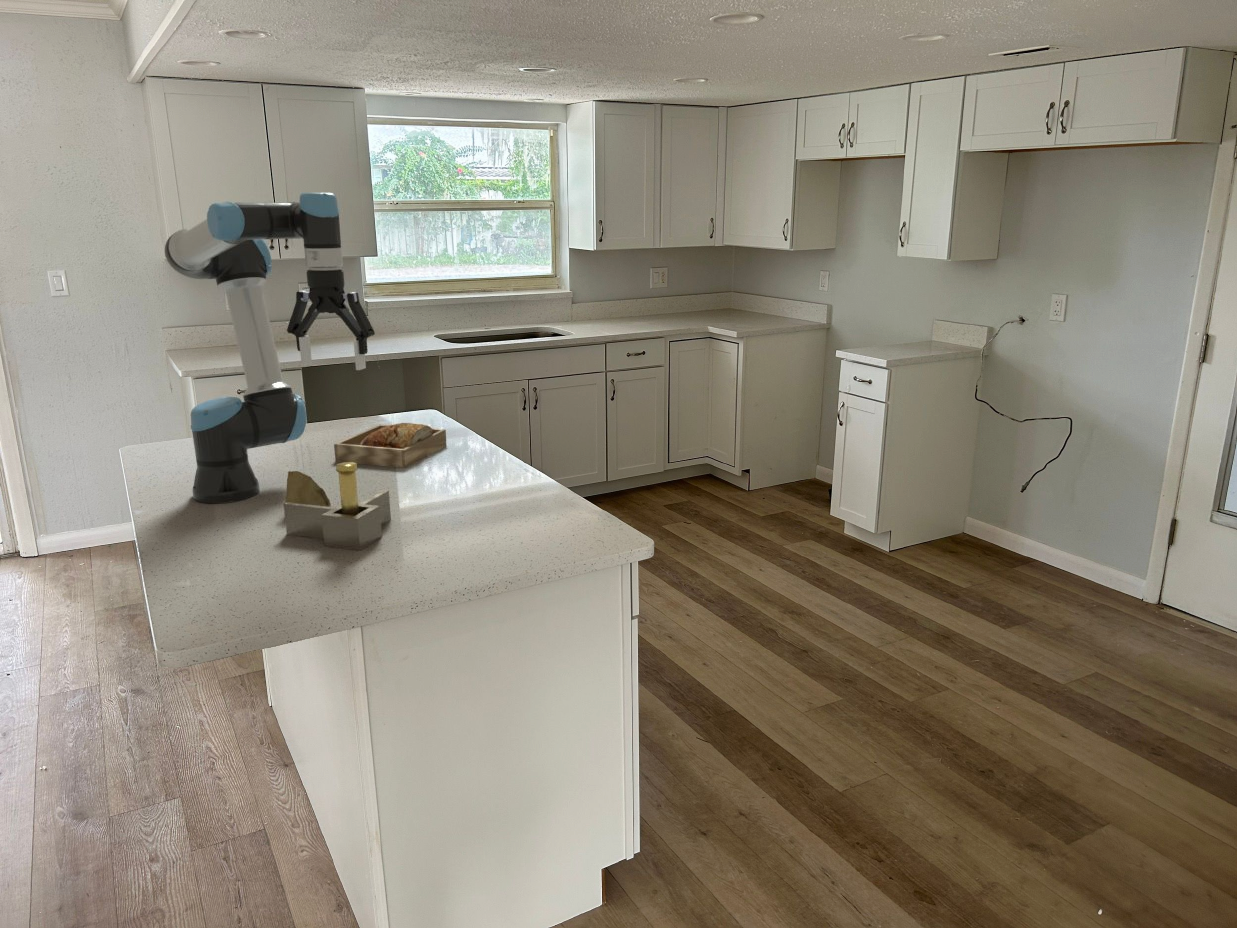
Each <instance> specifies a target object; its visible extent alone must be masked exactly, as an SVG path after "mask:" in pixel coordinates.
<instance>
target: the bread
mask: <svg viewBox="0 0 1237 928" xmlns="http://www.w3.org/2000/svg"><path fill="white" fill-rule="evenodd" d="M388 425H389V426H386V427H383V428H381V429H379V430H377V431H375V432H373V433H371V434H369V435H368V436H367V437H366V438H365V439H364V440H362V442H361V444H360V445H362V446H373V447H385V448H397V449H404V448H406V447H408V446H410V445H412V444H414V443H416V442H418V441H420V440H422V439H424V438H426V437H428V436H430V435H432V434H433V430H432V427H431V426H429V425H427V424H424V423H423V424H420V423H412V422H411V423H410V422H401V423H395V424H388Z"/></svg>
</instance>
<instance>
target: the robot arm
mask: <svg viewBox="0 0 1237 928" xmlns="http://www.w3.org/2000/svg"><path fill="white" fill-rule="evenodd" d="M287 239H288V240H290V239H292V240H293V239H295V240H296V239H299V240H300V239H301V240H302V239H303V247H304V249H303V250H304V257H305V267H306V268H308V269H307V271H306V280H307V286H308V287H309V291H307V290H306V289H305V290H303V289H302V290H298V291H296V293H295V295H296V296H295V305H294V307H293V310H292V313H291V317H290V320H289V322H288V326H287V329H286V331H287V333H288V334H292V335H294V336H295V339H296V340H295V341H296V346H297V347H296V349H297V351H298V352H300V353H299V355H300V362H301V367H302V368H306V367H309V366H312V365H313V359H312V350H311V341H310V340H311V339H310V335H308V331H309V330H310V328H311V327H312V325H313V323H314V322H315V321H316V319H317V318H318V316H319V315H320V314H325V313H327V314H335V315H337V316H338V317H339V318H340V319H341V320H342V322H343V323H344V324H345V325H346V326H347V328H348V329H349V330H350V331H351V333H352V334H353V335H354V336H355V339H353V347H354V349H353V350H354V364H355V371H361V370H364V369H367V366H366V365H367V364H366V354H367V353H369V352H368V338H369V337H372V336H375V334H376V333H375V330H374V328H373V326H372V324H371V322H370V320H369V318H368V316H367V314H366V311H365V310H364V308H363V306H362V304H361V303H360V298H359V293H358V292H357V291H352V292H347V293H346V291H345V289H344V288H345V273H344V270H343V269H342V268H341V267H343V266H344V261H343V249H342V240H341V226H340V209H339V207H338V199H337V196H336V195H335V194H334V193H333V192H303V193H300V195H299V202H297V201H293V202H292V201H291V202H290V201H287V202H232V201H225V202H215V203H211V205H210V206H209V208H208V211H207V213H206V219H204V220H202V221H201V222H199V223H198V224H196V225H195V226H193V227H192V228H182V229H179V230H177V231H176V232H174V233H173V234H171V235H170V236H169V237H168V239H167V240H166V242H165V244H164V256H165V259H166V261H167V263H168V264H169V265H170V267H172V268H173V270H175V272H177V273H179V274H180V275H182V276H185V277H187V278H190V279H195V280H215V281H216V286H217V288H218V289H219V290H220V291H222V292H223V293H224V294H225V295H226V299H227V305H228V309H229V313H230V317H231V318H230V319H231V321H232V326H233V331H234V334H235V339H236V343H237V347H238V351H239V356H240V360H241V364H242V368H243V373H244V377H245V382H246V386H247V388H246V390H245V391H244V393H243V394H242V397H243V401H242V400H241V398H239V397H236V396H227V397H219V398H218V397H217V398H213V399H210V400H206V401H204V402H200V403H199V404H197V405H196V406H194V407H193V408H192V409H191V411H190V430H191V432H192V439H193V441H192V442H193V445H194V446H193V447H194V453H195V460H196V470H195V471H196V472H195V475H194V481H193V486H192V497H193V500H195V501H196V502H200V503H202V504H204V503H205V504H223V503H224V504H225V503H232V502H238V501H242V500H246V499H248V498H251V497H253V496H255V495H257V494H259V492H260V483H259V480H258V479H257V478H256V475H255V473H254V471H253V468H252V465H251V463H250V462H249V461H250V460H249V456H248V454H249V453H248V450H249V449H254V448H260V447H267V446H271V445H277V444H285V443H287V442H291V441H295V440H298V439H299V438H300V437H301V436H302V435H304V432H305V429H306V426H307V425H306V424H307V411H306V410H307V408H306V405H305V402H304V400H303V398H302V397H301V395H299V394H296V393H293V390H292V389H293V388H292V386H291V385H289V384H288V383H286V382H285V381H284V379H283V374H282V370H281V366H280V361H279V357H278V352H277V349H276V343H275V338H274V334H273V330H272V326H271V322H270V317H269V312H268V309H267V305H266V299H265V296H264V292H263V288H264V286H265V284H266V283H267V282H268V280H267V276H269V275H270V273H271V272H272V256H271V251H270V250H269V246H268V244H267V243H266V241H265V240H287ZM308 301H310V302H311V304H310V306H309V307H308V308H307V306H308ZM345 302H346V303H347V304H348V306H349V308H348V306H347V304H346V303H345ZM306 308H307V312H306V314H305V311H306ZM350 311H351V312H352V313H351V312H350ZM304 315H305V316H304Z"/></svg>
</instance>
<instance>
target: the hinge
mask: <svg viewBox="0 0 1237 928" xmlns="http://www.w3.org/2000/svg"><path fill="white" fill-rule="evenodd" d="M390 502H391V500H390V490H387V489H383V490H381V491H379V492H378V493H376V494H374V495H373V496H371V497H369V498H367V499H365V500H364V501H362V502H359V503H358V506H359V514H357V515H356V516H352V515H343V514H342V505H341V504H339V505H337V506H336V507H333V506H329V507H326V506H316V505H307V504H298V503H289V502H287V503H286V502H285V503H283V512H284V518H285V519H284V520H285V531H286V535H290V536H297V537H298V536H299V537H305V538H313V539H314V538H315V539H323V542H324V547H327V548H337V549H343V550H344V549H345V550H351V551H362V550H364V549H365V548H366V547H368V546H370V545H371V544H373V543H375V542H376V541H378V540H379V539H380V538H382V537H383V533H382V526H383V525H385V524H386V523H388V522H389V521H392V517H391V503H390Z"/></svg>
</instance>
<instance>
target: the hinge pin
mask: <svg viewBox="0 0 1237 928" xmlns="http://www.w3.org/2000/svg"><path fill="white" fill-rule="evenodd" d="M335 470H336V472H338V483H339V492H340V505H342V514H343V515H352V516H356V515H357V514H359V506H358V504H359V498H358V495H359V494H358V487H357V473H356V471H357V470H358V463H353V462H339V463H337V464H336V465H335Z"/></svg>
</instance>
